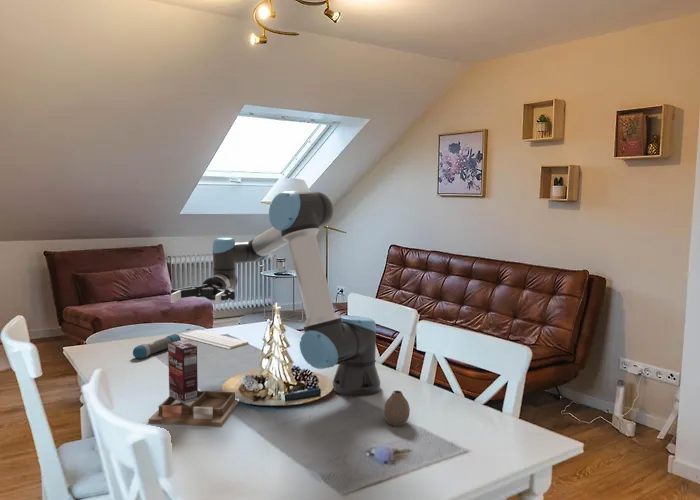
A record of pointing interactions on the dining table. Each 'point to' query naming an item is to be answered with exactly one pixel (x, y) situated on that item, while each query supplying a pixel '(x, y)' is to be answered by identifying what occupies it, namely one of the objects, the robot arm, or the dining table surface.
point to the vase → (396, 409)
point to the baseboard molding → (213, 339)
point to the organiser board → (197, 409)
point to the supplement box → (183, 371)
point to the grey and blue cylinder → (154, 346)
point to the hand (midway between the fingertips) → (194, 299)
